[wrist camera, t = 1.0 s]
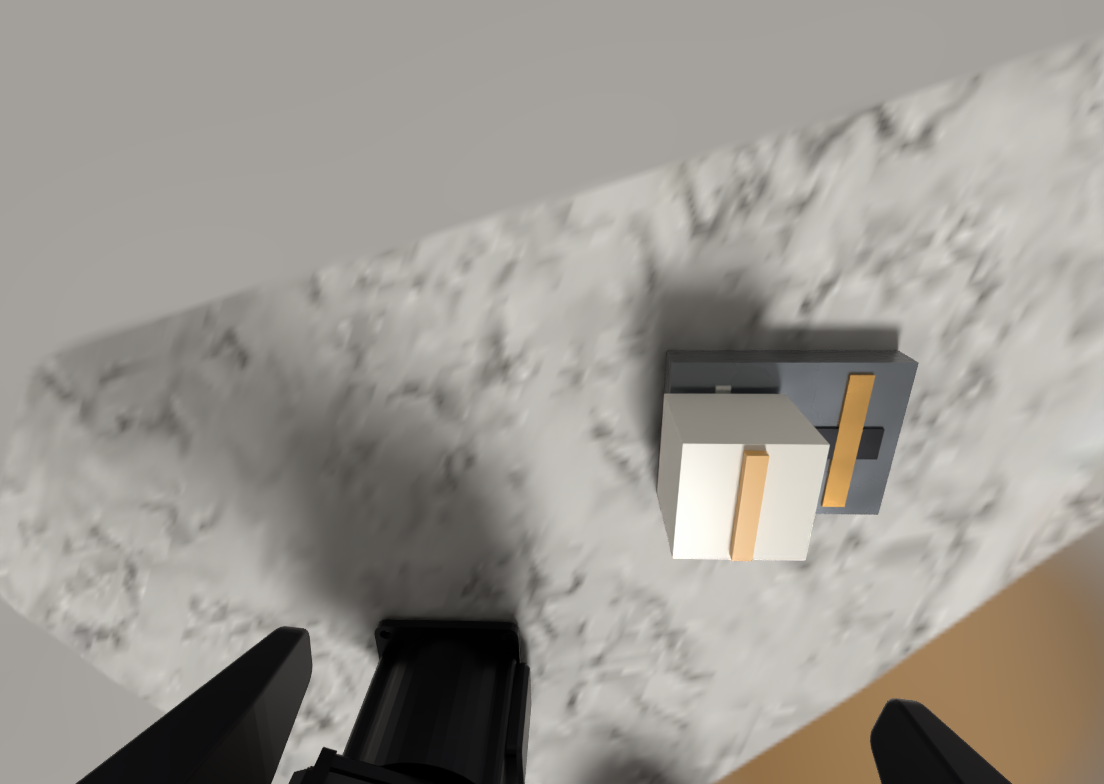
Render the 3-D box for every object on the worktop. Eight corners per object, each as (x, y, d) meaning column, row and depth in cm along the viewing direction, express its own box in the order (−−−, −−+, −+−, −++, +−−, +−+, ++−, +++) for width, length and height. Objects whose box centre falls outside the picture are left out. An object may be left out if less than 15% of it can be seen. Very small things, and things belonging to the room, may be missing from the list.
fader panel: (656, 493, 22) (661, 513, 21) (667, 351, 19) (672, 363, 18) (862, 495, 21) (879, 516, 20) (898, 350, 19) (920, 364, 18)
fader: (656, 493, 20) (674, 565, 16) (664, 393, 18) (685, 449, 15) (768, 495, 20) (809, 567, 16) (785, 393, 18) (834, 450, 15)
